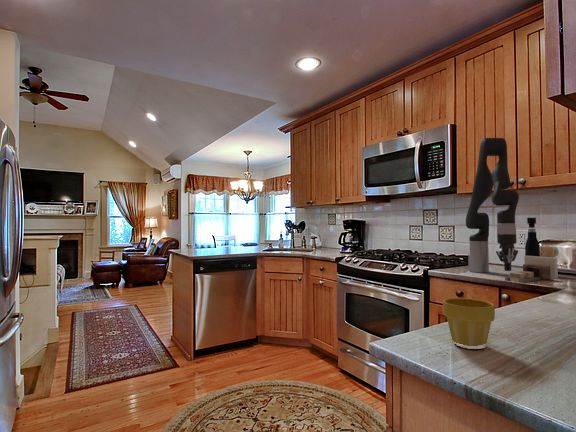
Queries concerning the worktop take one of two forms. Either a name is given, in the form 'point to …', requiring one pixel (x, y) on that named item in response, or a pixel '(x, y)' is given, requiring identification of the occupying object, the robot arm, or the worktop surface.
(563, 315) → the worktop surface
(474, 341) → the plant pot
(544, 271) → the block
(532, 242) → the wine bottle
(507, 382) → the worktop surface
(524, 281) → the guide rails
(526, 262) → the backstop board
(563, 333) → the worktop surface
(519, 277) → the peg
